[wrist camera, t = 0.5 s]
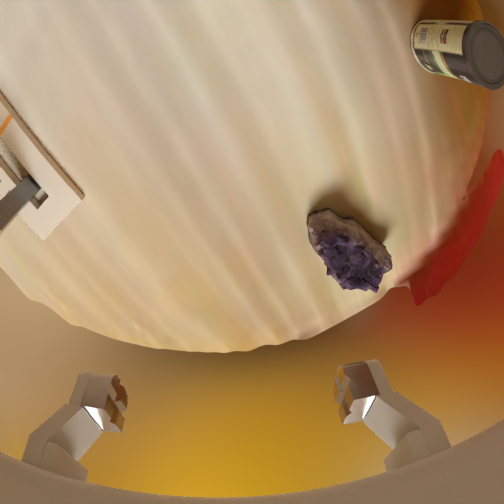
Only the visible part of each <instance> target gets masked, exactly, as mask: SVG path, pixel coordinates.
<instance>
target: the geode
mask: <svg viewBox="0 0 504 504" xmlns="http://www.w3.org/2000/svg"><path fill="white" fill-rule="evenodd" d="M307 227H308V233H309V240H310V244H311V245H312V247H313V249H314V250H315V252H316V253H317V254H318V255H319V256H320V257H321V258H322V259H323V260H324V262H325V263H324V264H325V265H326V266H327V275H330V274H331V276H332V277H333V278H334V279H335V280H336V281H337V282H338V283H339V284H340V286H341V287H342V289H349V290H353V289H361V290H363V291H365V292H366V291H367V290H368V289H370V290H372V291H373V292H374V293H377V291H378V289H379V286H378V285H379V284H380V282H381V280H382V277H383V274H384V273H386V272H388V271H390V270H391V269H392V260H391V257H392V256H391V255H390V254H389V253H388V251H387V250H386V246H384V245H383V244H382V243H381V242H379V241H376V240H374V239H373V238H372V237H371V236H370V235H369V234H368V232H367V231H365V230H364V229H363V227H361V226H360V224H359V223H358V222H357V221H356V220H355V219H354V218H347V219H343V218H341V217H339V216H337V215H336V214H335V213H334V212H333V211H331V210H330V209H328V208H326V209H323V210H319V211H314V212H313V213H312V214H309V215H308V218H307Z"/></svg>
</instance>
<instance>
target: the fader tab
mask: <svg viewBox="0 0 504 504" xmlns="http://www.w3.org/2000/svg"><path fill="white" fill-rule="evenodd" d="M40 189H41V187H40V185H39V184H38V183H37V182H36V181H35V180H34V178H33V177H32V176H31V175H30V174H29V175H28V176H27V177H26V178H25V179H23V180H22V181H21V182H20V183H19V184H18V185H17V186H16V187H14V188H13V189H12V190H11V191H10V192H9V193H8V194H7V195H6V196H5V197H4V198H3V199H2V200H0V236H1V234H2V233H3V230H4V229H5V228H6V227H7V226H8V225H9V223H10V222H11V221H12V220H13V219H14V218H15V217H16V216H17V214H18V213H19V212H20V211H21V210H22V209H23V208H24V207H25V206H26V205H27V204H28V203H29V202H30V201H31V200H32V199H33V198H34V196H35V195H36V194H37V193H38V192H39V190H40Z"/></svg>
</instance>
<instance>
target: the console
mask: <svg viewBox="0 0 504 504" xmlns="http://www.w3.org/2000/svg"><path fill="white" fill-rule="evenodd" d="M0 137H1V139H2V140H3V141H4V143H5V144H6V145H7V147H8V148H9V149H10V150H11V152H12V153H13V154H14V155H15V157H16V158H17V159H18V160H19V162H20V163H21V164H22V165H23V167H24V168H25V169H26V170H27V171H28V173H29V174H30V175H31V176H32V177H33V178H34V180H35V181H36V182H37V183H38V184H39V185H40V187H41V188H42V189H43V190H44V191H45V192H46V193H47V195H48V196H49V197H48V198H47V199H46V200H45V201H44V203H43V204H42V205H40V204H39V203H38V201H37V200H36V199H35V198H33V199H32V200H31V201H30V202H29V203H28V204H27V205H26V206H25V207H24V208H23V209H22V210H21V211H20V212H19V213H18V215H19V216H20V217H21V218H22V219H23V220H24V221H25V222H26V223H27V225H28V226H29V227H30V228H31V229H32V230H33V231H34V232H35V233H36V234H37V235H38V236H39V237H40V238H41V239H42V240H44V239H45V238H46V237H47V236H48V235H49V234H50V232H51V231H52V230H53V229H54V228H55V227H56V226H57V225H58V224H59V223H60V222H61V221H62V220H63V219H64V218H65V217H66V216H67V215H68V214H69V213H70V212H71V211H72V210H73V209H74V208H75V207H76V206H77V205H78V204H79V203H80V202H81V201H82V200H83V198H84V197H85V196H84V194H83V193H82V192H81V191H80V190H79V189H78V188H77V187H76V186H75V184H74V183H73V182H72V181H71V180H70V179H69V178H68V176H67V175H66V174H65V173H64V172H63V171H62V169H61V168H60V167H59V166H58V165H57V164H56V162H55V161H54V160H53V159H52V158H51V157H50V155H49V154H48V153H47V152H46V151H45V149H44V148H43V147H42V146H41V144H40V143H39V142H38V141H37V139H36V138H35V137H34V136H33V134H32V133H31V132H30V131H29V129H28V128H27V127H26V126H25V124H24V123H23V122H22V120H21V119H20V118H19V116H18V115H17V114H16V112H15V111H14V110H13V108H12V107H11V106H10V104H9V103H8V102H7V100H6V99H5V98H4V96H3V95H2V93H1V92H0ZM19 183H20V181H19V180H18V178H17V177H16V176H15V175H14V174H13V172H12V171H11V170H10V169H9V167H8V166H7V165H6V164H5V162H4V161H3V160H2V159H1V157H0V194H1V195H2V196H3V198H4V197H5V196H6V195H7V194H8V193H9V192H10V191H11V190H12V189H13V188H14V187H16V186H17V185H18V184H19Z"/></svg>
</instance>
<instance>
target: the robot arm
mask: <svg viewBox="0 0 504 504" xmlns="http://www.w3.org/2000/svg"><path fill="white" fill-rule="evenodd" d="M337 374H338V376H337V377H336V378H335V379H334V383H333V393H334V398H335V401H336V402H337V403H339V404H340V407H339V410H338V411H339V415H340V418H341V421H342V424H348V423H354V422H360V421H363V422H364V423H365V424H366V425H367V426H368V427H369V428H370V429H371V430H372V431H373V432H374V433H376V434H377V435H378V436H379V437H380V438H381V439H382V440H383V441H384V442H385V443H387V444H388V445H389V446H390V447H391V448H392V449H393V450H392V451H391V452H390V454H389V455H388V456H387V457H386V458H385V459H384V464H385V467H386V470H387V472H385V473H381V474H378V475H375V476H371V477H367V478H364V479H360V480H356V481H352V482H348V483H343V484H339V485H334V486H329V487H325V488H319V489H313V490H307V491H301V492H294V493H286V494H277V495H267V496H254V497H231V498H205V497H203V498H202V497H182V496H168V495H158V494H149V493H142V492H135V491H128V490H122V489H117V488H112V487H107V486H102V485H97V484H92V483H89V482H86V479H87V473H88V471H87V469H86V468H85V467H84V466H83V465H81V464H80V463H79V462H78V460H79V459H80V458H81V457H82V456H83V455H84V453H85V452H86V451H87V449H89V448H90V446H91V445H92V444H93V443H94V442H95V440H96V439H97V438H98V437H99V436H100V435H101V433H102V432H103V431H110V432H111V431H112V432H120V433H121V432H122V429H123V424H124V417H123V415H122V413H123V412H124V411H125V410H126V409H127V404H128V396H127V392H126V390H125V388H124V387H123V386H122V385H120V379H119V377H118V375H111V374H102V373H94V372H93V373H92V372H83V371H82V372H81V373H80V374H79V376H78V379H77V381H76V384H75V387H74V390H73V392H72V395H71V398H70V401H69V404H65V405H64V406H62V407H61V408H60V409H59V410H58V411H57V412H55V414H53V415H52V416H51V417H50V418H48V419H47V420H46V421H45V422H44V423H43V424H42V425H40V426H39V427H38V428H37V429H36V430H35V431H33V432H32V433H31V434H30V435H29V438H28V441H27V445H26V448H25V451H24V454H23V458H22V461H20V460H17V459H15V458H13V457H10V456H8V455H6V454H3V453H1V452H0V504H504V419H503V420H501V421H500V422H498V423H496V424H495V425H493V426H491V427H489V428H488V429H486V430H484V431H482V432H480V433H478V434H477V435H475V436H473V437H471V438H469V439H467V440H465V441H463V442H461V443H459V444H457V445H455V446H452V447H451V445H450V442H449V440H448V438H447V436H446V433H445V431H444V429H443V427H442V425H441V423H440V420H438V419H436V418H435V417H434V416H432V415H431V414H429V413H428V412H426V411H425V410H423V409H422V408H420V407H419V406H417V405H416V404H414V403H413V402H411V401H410V400H408V399H407V398H405V397H404V396H403V395H401V394H400V393H398V392H397V391H396V392H393V390H392V388H391V386H390V384H389V382H388V379H387V377H386V375H385V373H384V371H383V368H382V367H381V364H380V362H379V361H378V360H377V359H374V360H370V361H365V362H364V361H362V362H357V363H351V364H346V365H340V366H339V367H338V369H337Z"/></svg>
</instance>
